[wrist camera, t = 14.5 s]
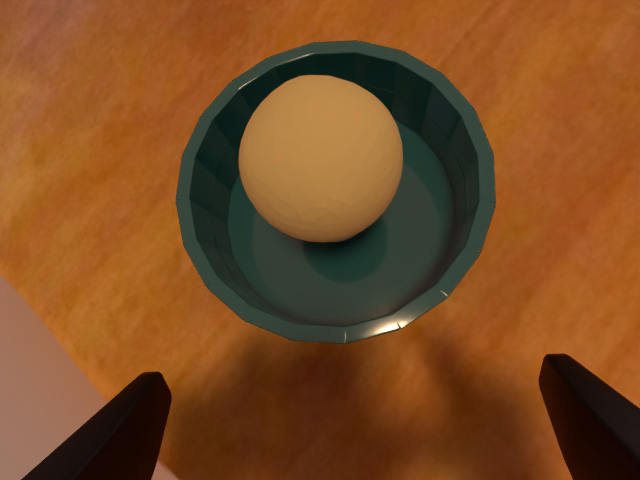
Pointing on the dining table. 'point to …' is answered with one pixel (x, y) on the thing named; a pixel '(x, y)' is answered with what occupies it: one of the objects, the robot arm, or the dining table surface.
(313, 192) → the light bulb
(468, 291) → the dining table surface
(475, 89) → the dining table surface
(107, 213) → the dining table surface
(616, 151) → the dining table surface
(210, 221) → the round teal dish
